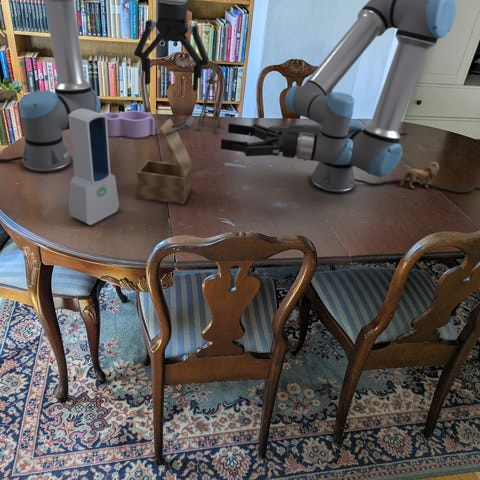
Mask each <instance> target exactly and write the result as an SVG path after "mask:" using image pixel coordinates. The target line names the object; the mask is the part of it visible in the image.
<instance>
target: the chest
mask: <svg viewBox="0 0 480 480" xmlns="http://www.w3.org/2000/svg"><path fill="white" fill-rule="evenodd" d="M191 178H192V167H191V168H190V170H189V171H188V173H187V175H186V176H185V177H182V175H181V173H180V171H179V170H178V168H177V166H176V164H175V163H174V162H173V163H171V162H164V161H157V160H150V159H145V161H144V163H142V164H141V166H140V167H139V169H138V170H137V171H136V181H137V185H136V186H137V198H138V199H143V200H150V201H155V202H156V201H157V202H164V203H170V204H179V205H184V204H185V202H186V200H187V199H188V197H189V195H190V192H191V184H192V183H191V182H192V179H191Z"/></svg>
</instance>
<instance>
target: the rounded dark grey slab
mask: <svg viewBox="0 0 480 480" xmlns="http://www.w3.org/2000/svg"><path fill="white" fill-rule="evenodd" d="M268 128H270V129H273V130H277V131H282V136H285V133H286V131H293V132H297V133H298V134H300V133H301V132H303V133H310V134H314V135H315V134H317V135H321V128H322V127H321V125H320V126H319V125H318V124H292V125H291V124H290V125H289V124H286V125H285V124H284V125H283V124H281V125H270V126H268Z"/></svg>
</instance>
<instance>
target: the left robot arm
mask: <svg viewBox="0 0 480 480" xmlns="http://www.w3.org/2000/svg"><path fill="white" fill-rule="evenodd" d="M43 1H44V7H45V13H46V19H47V24H48V30H49V36H50V42H51V48H52V54H53V59H54V65H55V71H56V75H57V83H55V85H54V91H51V90H41V91H40V90H37V91H32V92H29V93H26V94H24V95H23V96H22V97H21V98H20V100H19V103H18V104H19V116H20V119H21V125H22V132H23V137H24V148H23V153H22V156H15V157H12V158H0V163H9V162H10V163H11V162H14V161H20V160H21V161H22V166H23V168H24V169H25V170H27V171H29V172H33V173H39V174H46V173H56V172H61V171H63V170H66V169H67V168H69V167H70V166H71V163H72V159H71V155H70V153H69V151H68V150H67V149H68V148H67V147H66V145H65V143H64V140H63V131H66V130H70V128H69V119H68V115H69V114H70V113H71V112H73V111H75V110H77V109H88V110H91V111H94V112H97V113H100V114H101V109H102V107H101V105H102V104H101V100H100V97H99V96H98V93H97V92H96V91H95V90H94V89H93V88H92V86H91V83H89V82H88V81H87V80H86V77H85V72H84V71H85V69H84V64H83V63H84V62H83V56H82V49H81V43H80V34H79V28H78V22H77V15H76V9H75V0H43ZM187 2H188V0H159V1H158V3H157V21H154V20H152V19H151V18H150V19H147V20H146V21H145V22H144V23H145V24H144V29H143V33H142V35H141V37H140V40H139V41H138V42H137V46H136V48H135V50H134V53H133V54H134V56H135V57H137V58H139V59H140V64H141V67H140V69H141V71H142V72H144V85H146V86H148V85H150V84H151V58H150V57H149V56H150V54H152V52H153V51H154V50H155V49H156V47H158V45H159V44H160V43H161V42H162V40H164V41H165V42H173V43H179V42H180V44H181V45H182V46H183V47H184V49H185V50H186V51H187V53H188V55H189V56H190V57H191V59H192V60H193V62H194V63H195V64H194V66H193V79H192V80H193V81H192V92H193V91H194V92H197V90H198V88H199V79H201V78H202V77H203V69H202V66H203V65H208V64H209V63H210V58H209V55H208V52H207V50H206V48H205V45H204V43H203V40H202V37H201V35H200V27H199V25H198V24H195V25H189V24H188V5H187V4H186V3H187ZM155 28H156V30H157V31H158V34H157V36H156V37H155V38H154V40H153V41H152V42H151V43H150V44H149V46H147V48H146V49H145V50H144V48H145V46H146V43H147V41H148V39H149V37H150V35H151V33H152V31H153V30H154V29H155ZM188 32H189V34H190V35H191V36H192V38H193V40H194V43H195V45H196V48H197V50H198V52H197V51H196V49H195V48H194V47H193V45H192V44H191V42H190V41H189V38H188V37H187V35H186V34H187V33H188ZM143 50H144V51H143Z"/></svg>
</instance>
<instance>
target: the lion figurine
mask: <svg viewBox="0 0 480 480" xmlns="http://www.w3.org/2000/svg"><path fill="white" fill-rule="evenodd" d="M439 169H440V166H439V163H438V162H436V161H432V162H429V163H428V165H427V166H426V167H425V168H424V169H417V168H410V169H408V171H406V173H405V174H404V176H403V177H402V178H401V179H400V180H401V182H400V183H399V186H400V187H402V186H404V184H405V182H404V180H408V179H409V180H410V182H408V185H409V187H410V189H415V186H414V185H413V184H414V183H413V181H416V180H419V182H420V184H419V185H421V186H423V185H422V184H423V183H425V185H424V188H426V189H429V186H427V185H428V184H430V181H431V180H432V179H434V178H435V177H436V175H437V174H438V172H439ZM424 180H425V182H424Z"/></svg>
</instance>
